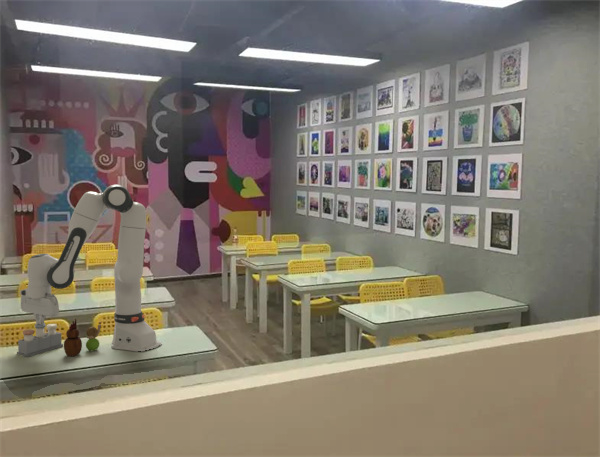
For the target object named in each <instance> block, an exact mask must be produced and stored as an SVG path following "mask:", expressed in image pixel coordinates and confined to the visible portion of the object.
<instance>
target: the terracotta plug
mask: <svg viewBox="0 0 600 457" xmlns="http://www.w3.org/2000/svg"><path fill="white" fill-rule="evenodd" d="M34 333H35V332H34V329H24V330H22V335H23V339H24V341H25V342H29V341H32V340H33V336H34V335H33V334H34Z"/></svg>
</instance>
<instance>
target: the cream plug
mask: <svg viewBox="0 0 600 457" xmlns="http://www.w3.org/2000/svg"><path fill="white" fill-rule="evenodd" d="M57 328H58V326H57V323H49V324H46V330H47V333H48V335H54V334H56V332H57V330H56V329H57Z"/></svg>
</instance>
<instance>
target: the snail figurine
mask: <svg viewBox="0 0 600 457" xmlns="http://www.w3.org/2000/svg"><path fill="white" fill-rule="evenodd" d="M101 323H102V322H101V321H99V324H98V325H97V328H96V327H95V326H90V327H89V328H87V329H86V335H87V336H86V338H87V339H88V340H87V341H86V343H85V347H86V349H87V350H88V351H90V352H94V351H96V350H98V349H99V346H100V341H99V339H98V338H97V337H98V336H99V334H100V333H101V327H102V324H101Z"/></svg>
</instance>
